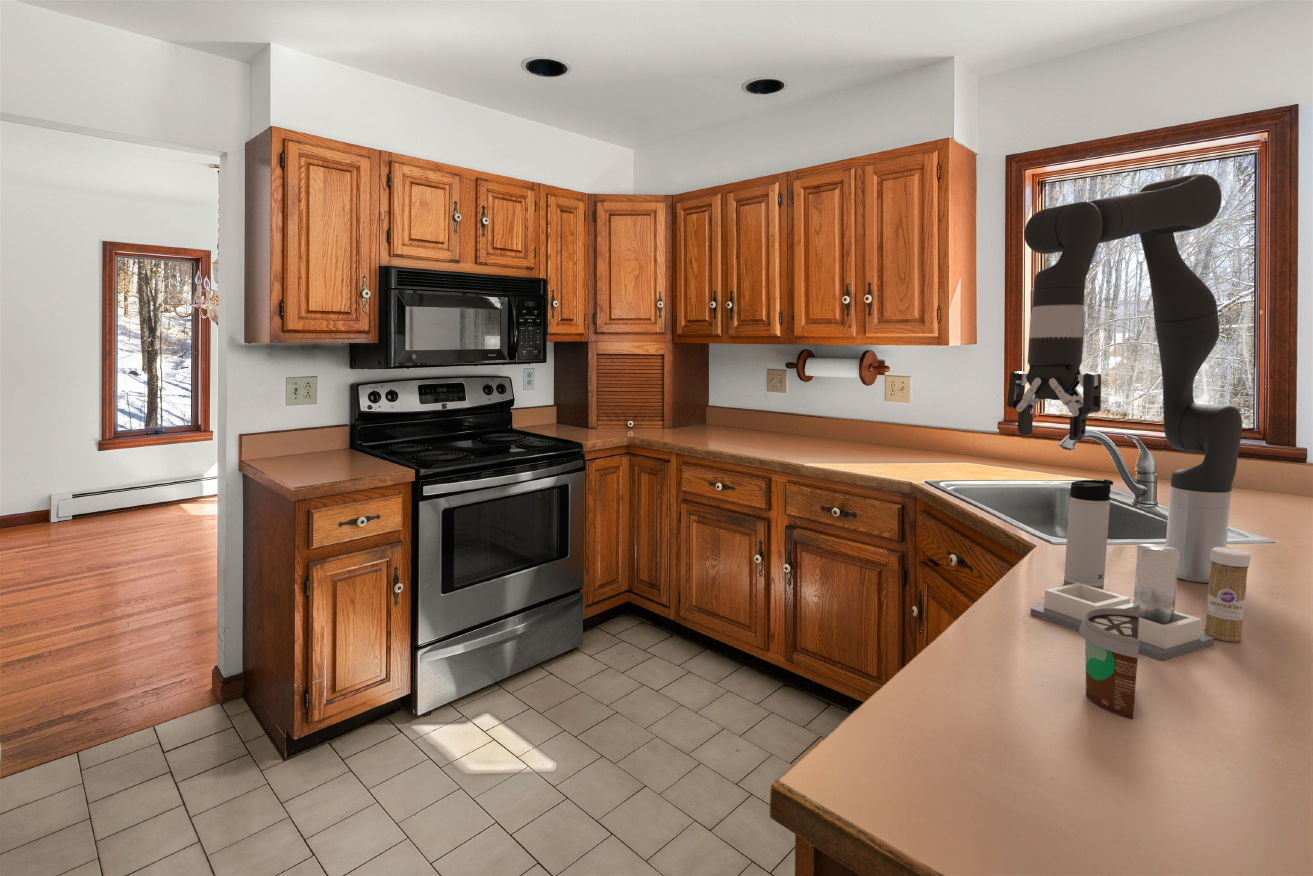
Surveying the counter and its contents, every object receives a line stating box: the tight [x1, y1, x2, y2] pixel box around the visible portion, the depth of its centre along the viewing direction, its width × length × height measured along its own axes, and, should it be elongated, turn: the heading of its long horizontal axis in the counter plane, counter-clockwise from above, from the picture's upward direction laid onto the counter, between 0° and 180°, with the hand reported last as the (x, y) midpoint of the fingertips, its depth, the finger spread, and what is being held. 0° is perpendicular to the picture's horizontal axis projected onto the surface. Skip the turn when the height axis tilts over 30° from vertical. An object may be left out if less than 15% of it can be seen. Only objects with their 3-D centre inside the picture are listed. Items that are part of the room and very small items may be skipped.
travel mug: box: [1063, 479, 1114, 590], centre depth 129 cm, size 6×7×20 cm
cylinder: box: [1132, 543, 1179, 625], centre depth 104 cm, size 5×5×13 cm
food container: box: [1078, 608, 1140, 720], centre depth 87 cm, size 12×6×10 cm, turn 145°
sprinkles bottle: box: [1203, 547, 1251, 643], centre depth 106 cm, size 5×5×13 cm
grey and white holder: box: [1030, 583, 1215, 662], centre depth 110 cm, size 13×20×4 cm, turn 26°
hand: (1049, 437), depth 113 cm, fingers open, 8 cm apart
